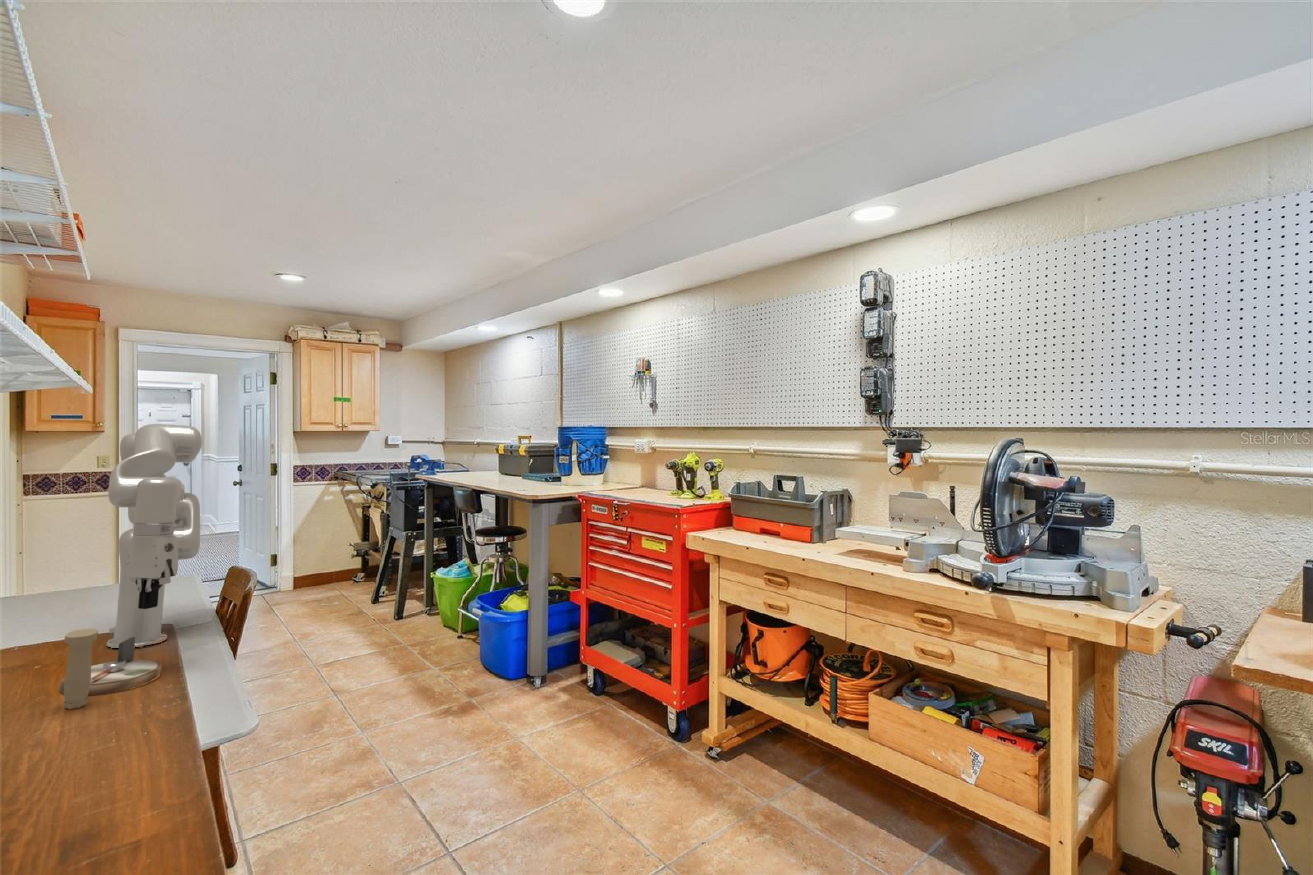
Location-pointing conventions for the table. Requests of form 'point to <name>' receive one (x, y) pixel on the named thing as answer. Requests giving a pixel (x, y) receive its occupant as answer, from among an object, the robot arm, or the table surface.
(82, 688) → the handle
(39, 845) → the table surface
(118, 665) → the dial pointer
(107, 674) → the base
